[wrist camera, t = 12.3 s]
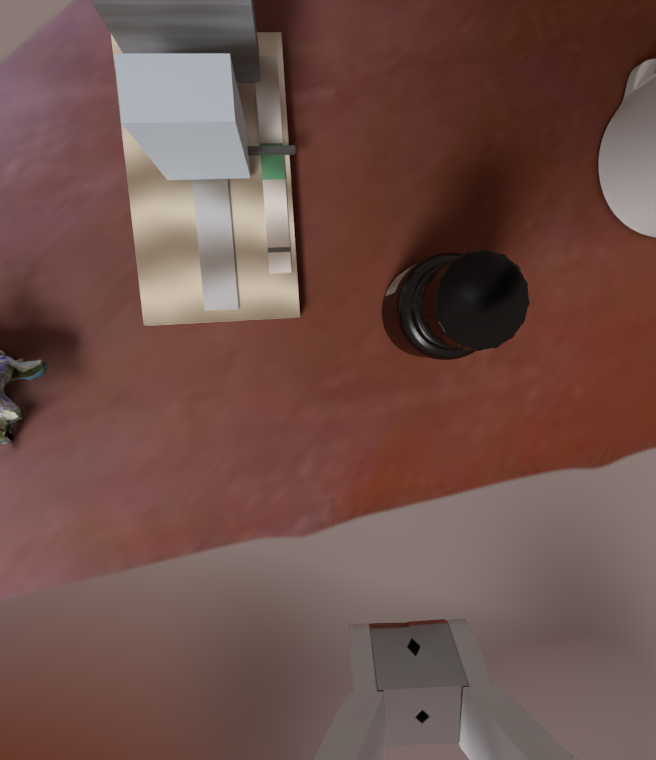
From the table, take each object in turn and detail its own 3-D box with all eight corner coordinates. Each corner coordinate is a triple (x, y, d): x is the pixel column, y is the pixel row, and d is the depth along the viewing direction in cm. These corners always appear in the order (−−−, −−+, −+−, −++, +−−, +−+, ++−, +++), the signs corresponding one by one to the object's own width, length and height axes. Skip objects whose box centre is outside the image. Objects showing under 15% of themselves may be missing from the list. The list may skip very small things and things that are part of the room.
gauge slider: (296, 176, 34) (298, 120, 25) (167, 180, 33) (121, 123, 24) (292, 109, 34) (292, 27, 25) (160, 111, 33) (110, 26, 24)
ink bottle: (470, 263, 39) (549, 230, 27) (472, 352, 40) (549, 359, 28) (373, 268, 38) (410, 237, 26) (378, 359, 39) (416, 370, 27)
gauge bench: (299, 317, 38) (302, 310, 28) (149, 325, 36) (99, 321, 27) (281, 45, 35) (277, -63, 25) (118, 45, 34) (51, -69, 24)
